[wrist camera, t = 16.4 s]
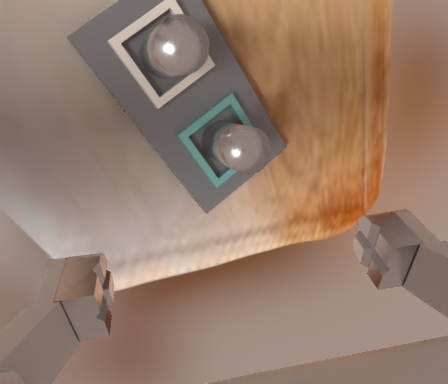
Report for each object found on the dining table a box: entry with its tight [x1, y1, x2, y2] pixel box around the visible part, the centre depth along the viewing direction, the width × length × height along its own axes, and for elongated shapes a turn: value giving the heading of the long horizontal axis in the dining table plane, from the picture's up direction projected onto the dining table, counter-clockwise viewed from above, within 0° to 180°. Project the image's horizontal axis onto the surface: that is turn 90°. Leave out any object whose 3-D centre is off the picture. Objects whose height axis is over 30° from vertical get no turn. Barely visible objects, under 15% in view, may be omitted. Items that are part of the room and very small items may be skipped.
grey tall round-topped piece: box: [140, 14, 209, 78], centre depth 31 cm, size 4×4×8 cm
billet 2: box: [201, 121, 271, 175], centre depth 36 cm, size 4×4×8 cm
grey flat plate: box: [67, 0, 286, 214], centre depth 37 cm, size 13×23×2 cm, turn 35°
